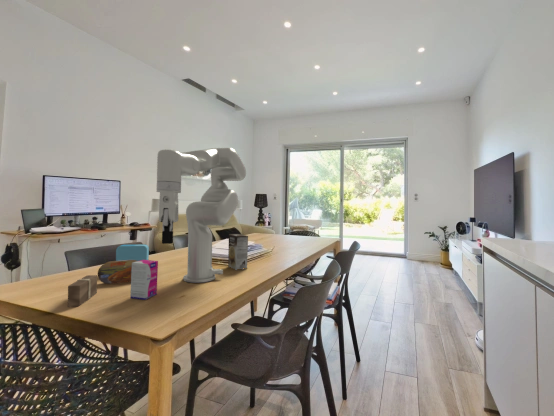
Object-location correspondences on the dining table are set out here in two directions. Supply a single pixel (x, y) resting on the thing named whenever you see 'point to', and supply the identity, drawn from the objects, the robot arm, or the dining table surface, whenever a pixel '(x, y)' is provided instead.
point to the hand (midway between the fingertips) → (167, 243)
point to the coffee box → (238, 251)
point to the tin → (116, 272)
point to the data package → (132, 252)
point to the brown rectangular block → (82, 290)
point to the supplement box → (144, 279)
